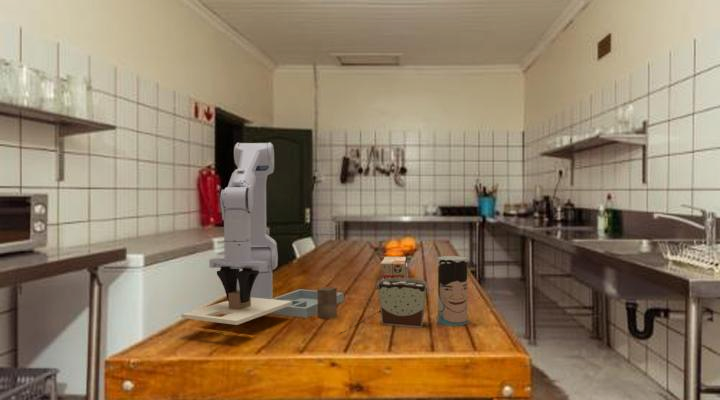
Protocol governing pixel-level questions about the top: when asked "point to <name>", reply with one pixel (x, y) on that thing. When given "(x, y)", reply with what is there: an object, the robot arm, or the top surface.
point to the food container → (402, 301)
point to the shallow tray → (302, 303)
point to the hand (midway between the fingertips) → (238, 301)
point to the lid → (237, 309)
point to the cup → (452, 290)
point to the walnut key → (327, 302)
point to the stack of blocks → (394, 268)
